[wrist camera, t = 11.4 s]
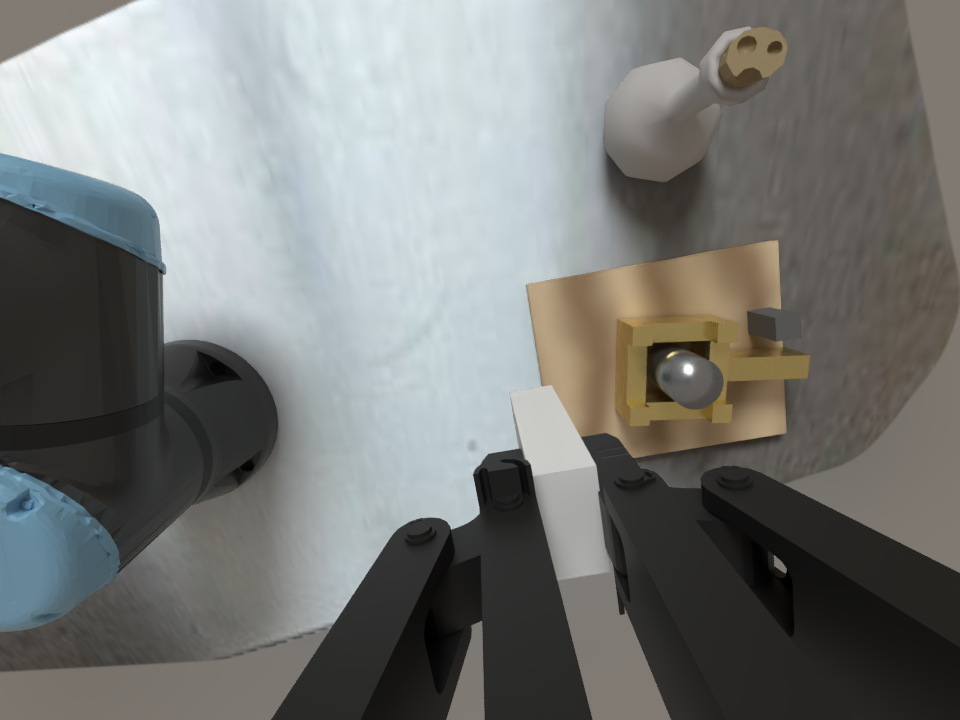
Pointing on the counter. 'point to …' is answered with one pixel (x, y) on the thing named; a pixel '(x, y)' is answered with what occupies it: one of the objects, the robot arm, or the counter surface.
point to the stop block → (774, 324)
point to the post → (683, 375)
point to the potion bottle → (685, 103)
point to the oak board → (673, 292)
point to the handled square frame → (708, 343)
